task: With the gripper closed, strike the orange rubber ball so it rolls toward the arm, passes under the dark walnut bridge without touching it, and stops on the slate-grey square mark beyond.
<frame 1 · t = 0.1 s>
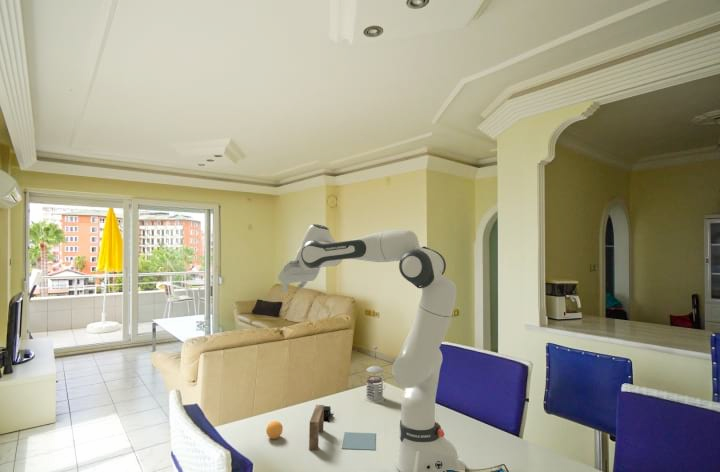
hand: (292, 289, 157), 54 cm above the table, tool tilted 30°, fingers open, 8 cm apart
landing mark: (359, 441, 142), on the table
ball: (274, 429, 143), on the table
bridge: (316, 439, 142), on the table
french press: (375, 399, 181), on the table
black stepped block: (326, 419, 161), on the table
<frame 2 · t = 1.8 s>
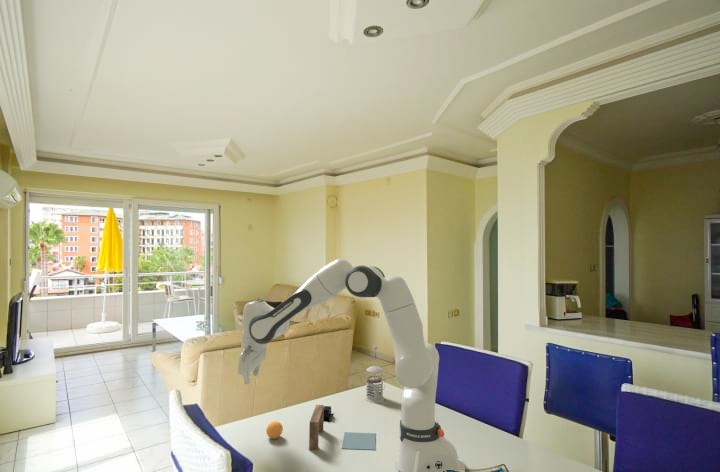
hand: (251, 379, 145), 21 cm above the table, tool pointing down, fingers open, 8 cm apart
nothing on the table moved.
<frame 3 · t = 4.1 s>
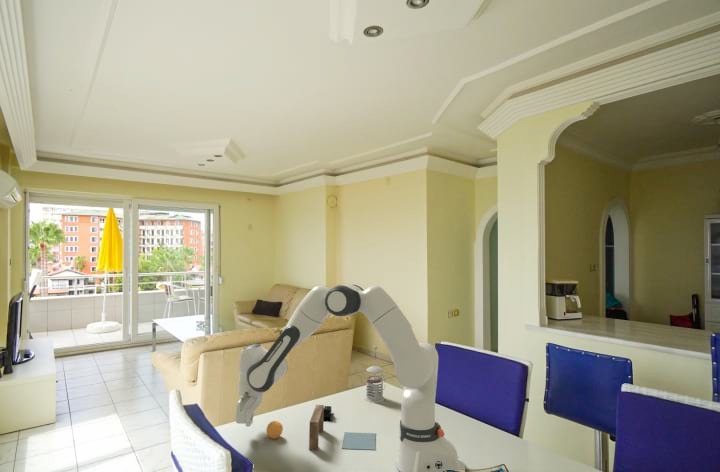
hand: (249, 424, 144), 4 cm above the table, tool pointing down, fingers closed
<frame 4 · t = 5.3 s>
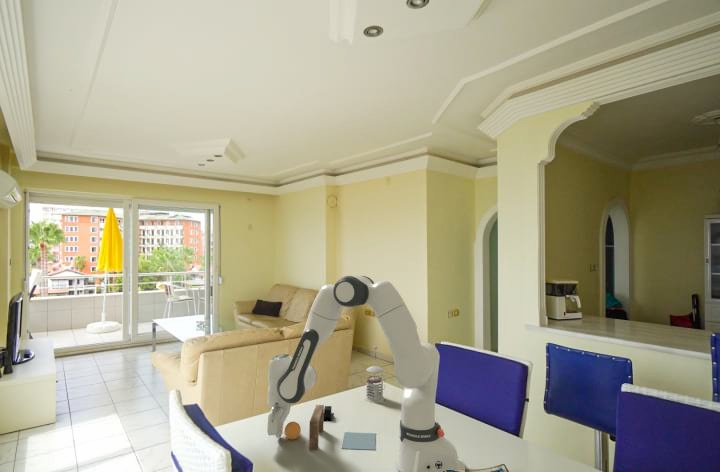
hand: (279, 435, 143), 1 cm above the table, tool pointing down, fingers closed
ball: (292, 430, 143), on the table
everything else where it was.
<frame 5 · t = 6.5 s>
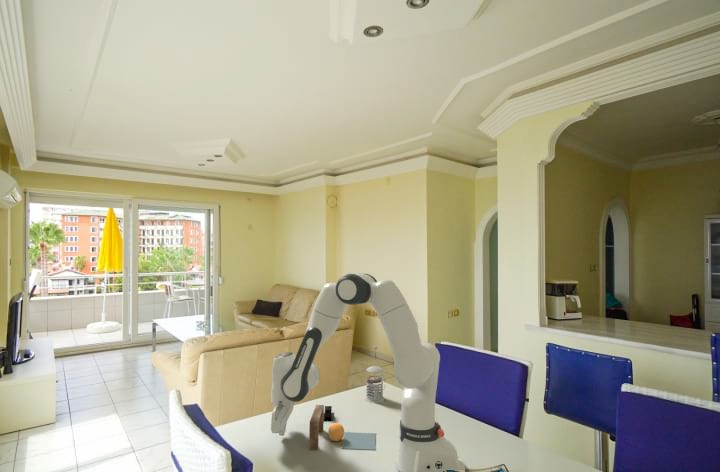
hand: (282, 433, 143), 2 cm above the table, tool pointing down, fingers closed
ball: (336, 432, 142), on the table
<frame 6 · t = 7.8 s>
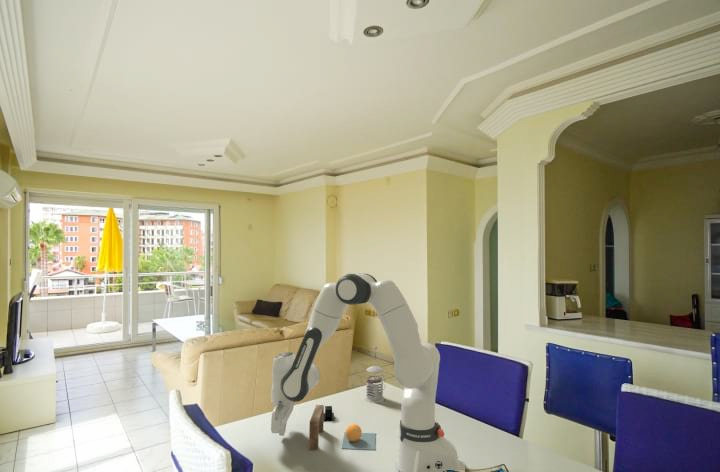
hand: (282, 433, 143), 2 cm above the table, tool pointing down, fingers closed
ball: (353, 432, 142), on the table
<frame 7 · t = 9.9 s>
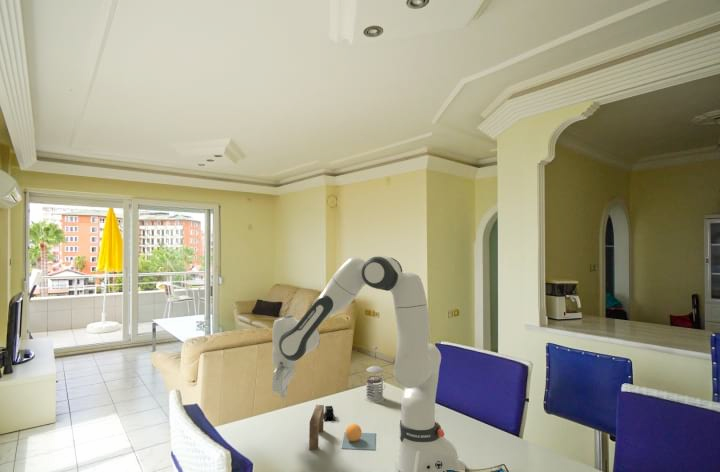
hand: (283, 396, 143), 16 cm above the table, tool pointing down, fingers closed
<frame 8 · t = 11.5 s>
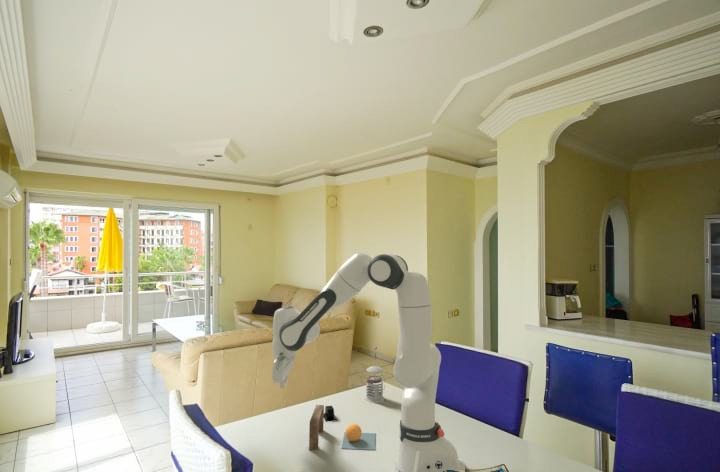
hand: (283, 386, 144), 19 cm above the table, tool pointing down, fingers closed
at the end: ball 2.2 cm from the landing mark (horizontally); ball never touched bridge; ball at rest at the end (0.0 cm/s) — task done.
